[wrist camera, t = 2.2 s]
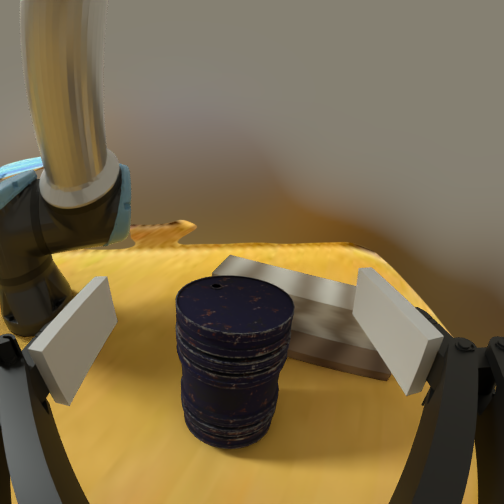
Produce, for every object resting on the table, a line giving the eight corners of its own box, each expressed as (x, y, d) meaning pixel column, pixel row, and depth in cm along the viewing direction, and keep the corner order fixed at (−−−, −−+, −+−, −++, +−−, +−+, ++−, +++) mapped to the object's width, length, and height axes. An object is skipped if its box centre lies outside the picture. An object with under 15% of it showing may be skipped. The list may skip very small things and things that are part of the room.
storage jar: (290, 422, 27) (321, 309, 22) (216, 464, 21) (218, 352, 16) (236, 374, 34) (245, 267, 30) (167, 402, 28) (155, 287, 24)
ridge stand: (188, 323, 42) (185, 283, 38) (228, 278, 53) (229, 242, 50) (386, 381, 33) (408, 343, 29) (388, 319, 45) (402, 283, 41)
